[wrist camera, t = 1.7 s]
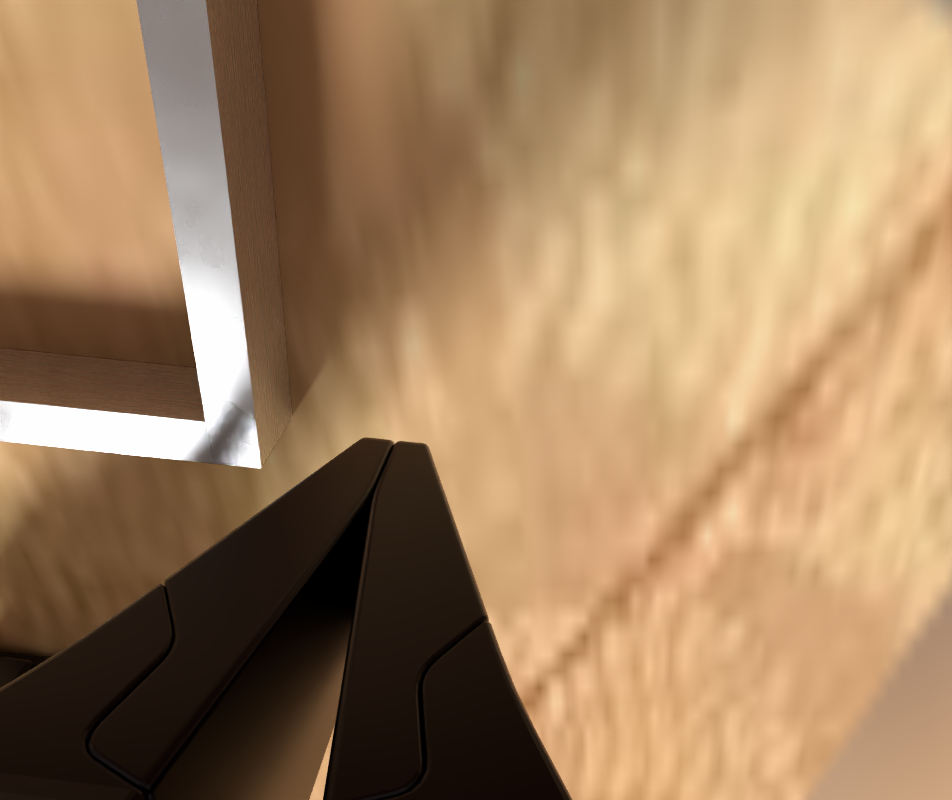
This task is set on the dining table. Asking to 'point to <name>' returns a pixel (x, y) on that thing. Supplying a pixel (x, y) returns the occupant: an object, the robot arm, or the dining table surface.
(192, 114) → the grey square frame
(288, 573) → the robot arm
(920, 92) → the dining table surface
